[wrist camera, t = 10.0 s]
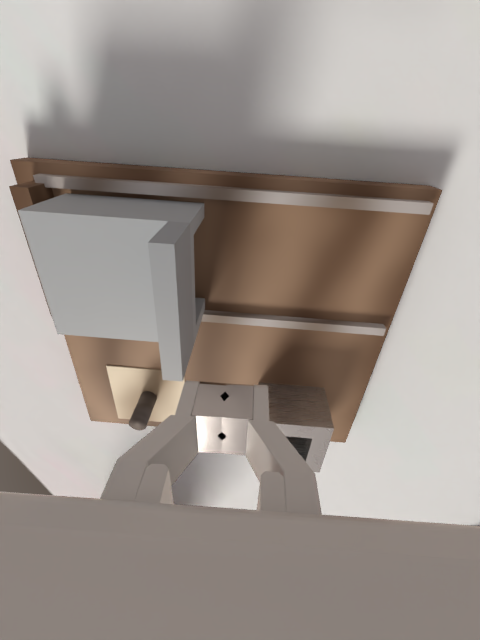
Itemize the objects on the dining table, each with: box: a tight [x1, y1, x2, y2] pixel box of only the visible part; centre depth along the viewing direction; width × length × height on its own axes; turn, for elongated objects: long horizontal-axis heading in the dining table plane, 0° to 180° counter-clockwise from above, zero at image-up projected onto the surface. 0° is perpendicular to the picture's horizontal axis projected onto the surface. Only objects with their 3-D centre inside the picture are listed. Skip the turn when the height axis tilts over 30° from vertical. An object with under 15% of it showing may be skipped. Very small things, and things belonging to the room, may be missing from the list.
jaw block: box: [258, 382, 334, 472], centre depth 25 cm, size 5×5×4 cm
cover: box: [18, 193, 205, 382], centre depth 16 cm, size 8×7×7 cm
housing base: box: [9, 158, 442, 442], centre depth 22 cm, size 24×22×4 cm
